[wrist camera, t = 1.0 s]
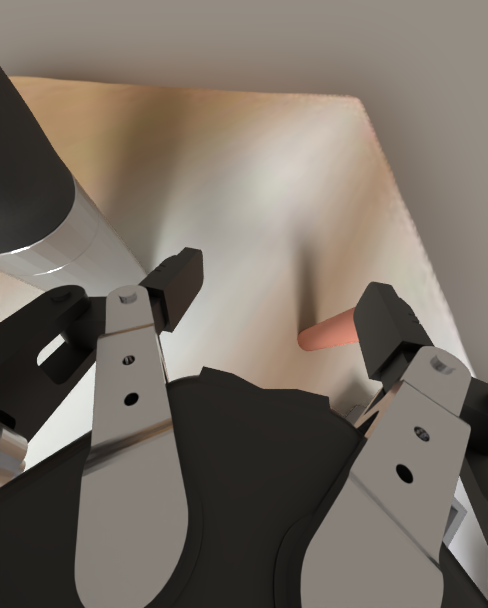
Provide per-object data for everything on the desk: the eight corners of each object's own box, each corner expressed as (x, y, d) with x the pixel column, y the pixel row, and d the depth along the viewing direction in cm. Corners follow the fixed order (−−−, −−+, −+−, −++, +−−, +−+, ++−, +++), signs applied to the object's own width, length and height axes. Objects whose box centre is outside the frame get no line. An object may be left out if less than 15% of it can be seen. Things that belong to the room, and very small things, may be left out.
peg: (293, 338, 32) (361, 311, 17) (307, 325, 33) (384, 288, 17) (308, 355, 31) (391, 343, 16) (322, 341, 32) (414, 317, 17)
